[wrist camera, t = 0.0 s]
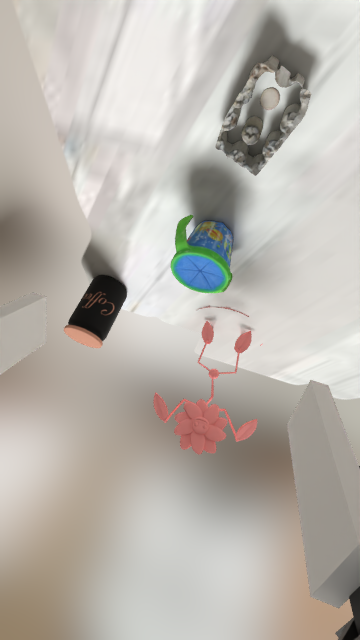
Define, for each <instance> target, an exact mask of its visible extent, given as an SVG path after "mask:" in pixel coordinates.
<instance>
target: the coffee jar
mask: <svg viewBox="0 0 360 640" xmlns="http://www.w3.org/2000/svg"><path fill="white" fill-rule="evenodd" d="M126 297H127V292H126V289H125V287H124V286H123V285H122V284H121V283H120V282H119V281H118V280H116V279H114V278H112V277H109V276H105V275H101V276H98V277H96V278H94V279H93V281H92V282H91V284H90V286H89V287H88V289H87V291H86V293H85V294H84V296H83V298H82V299H81V301H80V302H79V304H78V306H77V308H76V309H75V311H74V313H73V314H72V316H71V317H70V319H69V322H68V324H69V325H67V326H65V328H64V332H65V333H66V334H67V335H68V336H69V337H70V338H72V339H74V340H75V341H77V342H79V343H81V344H83V345H86V346H89V347H92V348H100V347H101V346H102V344H103V343H102V341H103V340H104V339H105V338H106V337H107V335H108V333H109V331H110V329H111V327H112V325H113V323H114V321H115V319H116V317H117V315H118V313H119V311H120V309H121V307H122V305H123V303H124V301H125V299H126Z"/></svg>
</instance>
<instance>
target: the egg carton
mask: <svg viewBox="0 0 360 640" xmlns="http://www.w3.org/2000/svg"><path fill="white" fill-rule="evenodd" d="M278 65H279V60H278V59H277V58H275V57H274V56H271V57H270V58H269V59H268V60H267V61H266V62H263V63H257V64H256V65H255V66H254V67H253V69H252V71H251V72H250V74H249V75H250V76H249V80H248V81H247V83H246V85H245V87H244V88H243V90H242V91H241V92H240V93H239V95H238V97H237V98H236V100H235V102H234V104H233V105H232V107H231V108H230V110H229V112H228V113H227V115H226V117H225V119H224V122H223V125H222V128H221V131H220V134H219V137H218V140H217V144H216V148H217V149H218V150H222V151H223V152H225V153H226V156H227V157H230V158H232V159H233V160H234V161H235V162H237V163H238V164H239V165H240V166H242V167H244V168H247V169H248V170H249V171H250V172H251V173H252V174H254V175H255V176H256V175H257V174H258V173H259V172H260V171H261V169H262V168H263V167H264V166H265V165H266V163H267V162H268V160H269V159H270V158H271V157H272V156H273V154H274V153H275V152H277V150H278V149H279V148H280V146H281V145H282V144H283V142H284V141H285V140H286V139H287V138H288V136H289V135H290V134H291V132H292V131H293V130H294V129H295V128H296V126H297V125H298V124H299V123H300V121H301V120H302V119H303V117H304V115H305V113H306V111H307V107H308V103H309V99H310V96H311V93H310V91H309V90H306V89H303V84H304V81H305V79H304V78H303V77H302V76H301V75H300V74H298V73H297V75H296V76H295V77H293V78H292V79H290V75H291V73H290V72H289V71H288V70H287V69H286V68H285V67H283V66H282V65H281V67H280V69H278ZM264 72H271V73H274V72H275V80H276V82H277V84H278V85H279V86H280V87H289V86H291V85H292V84H294V83H296V82H297V83H299V84H300V85H301V87H302V88H301V92H300V95H299V96H300V100H301V104H297V103H294V104H291V105H289V106H288V107H287V108H286V109H285V111H284V114H283V117H282V120H281V123H280V129H281V131H282V132H280V131H273V132H271V133H270V134H269V135H268V137H267V140H266V143H265V145H264V147H263V151H262V153H263V154H258V155H256V156H255V157H252V156H251V155H249V153H248V145H253V144H255V143H257V141H258V140H259V138H260V135H261V132H262V128H263V123H262V120H261V119H260V118H259V117H256V116H253V117H251V118H249V119H248V120H247V121H246V123H245V126H244V128H243V130H242V133H241V134H242V139H243V140H244V141H237V142H235V143H234V144H233V145H232V144H231V143H229V142H227V138H228V134H227V132H226V131H230V130H231V129H233V128H234V127H236V125H237V121H238V119H239V116H240V108H241V107H242V105H243V104H246V103H247V102H248V101H249V98H251V97H252V92H253V90H254V88H255V83H256V81H257V80H258V78H259V77H260V76H261V75H262V74H263V73H264ZM279 99H280V95H279V92H278V90H277V89H275V88H267V89H266V90H264V92H263V93H262V95H261V98H260V103H261V106H262V107H263V108H264V109H266V110H271V109H273V108H275V107H276V106H277V105H278V103H279Z"/></svg>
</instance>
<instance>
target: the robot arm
mask: <svg viewBox="0 0 360 640" xmlns="http://www.w3.org/2000/svg"><path fill="white" fill-rule="evenodd" d="M45 343H46V296H44V295H40V294H37V293H34V292H32V293H30V294H27V295H25V296H23V297H20V298H18V299H16V300H14V301H11V302H9V303H7V304H4V305H2V306H0V375H1V374H2V373H3V372H5V371H6V370H8V369H9V368H11V367H12V366H13V365H15V364H16V363H18V362H19V361H20V360H22V359H23V358H25V357H26V356H28V355H29V354H31V353H32V352H33V351H35V350H36V349H38V348H39V347H40V346H42V345H43V344H45ZM287 427H288V434H289V441H290V449H291V456H292V464H293V471H294V478H295V485H296V493H297V500H298V508H299V515H300V523H301V530H302V537H303V544H304V552H305V559H306V567H307V574H308V582H309V589H310V596H311V597H313V598H315V599H317V600H320V601H322V602H325V603H327V604H330V605H332V606H334V607H337V608H340V607H341V606H342V605H343V604H344V603H345V602H346V601H347V600H348V599H350V603H351V607H352V612H353V616H354V617H353V618H352V619H351V620H350V621H349V622H348V623H346V625H344V626H343V627H342V628H341V629H340V630H338V631H337V632H336V635H337V636H338V637H339V639H338V640H360V466H359V465H358V463H357V460H356V457H355V455H354V452H353V450H352V447H351V444H350V441H349V439H348V436H347V434H346V431H345V429H344V426H343V423H342V420H341V418H340V415H339V412H338V410H337V407H336V405H335V402H334V399H333V397H332V394H331V391H330V389H329V386H328V385H325V384H322V383H319V382H316V381H313V380H310V382H309V384H308V386H307V388H306V390H305V392H304V394H303V395H302V398H301V399H300V401H299V403H298V405H297V407H296V409H295V411H294V413H293V415H292V416H291V418H290V420H289V422H288V424H287Z"/></svg>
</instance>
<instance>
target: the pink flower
mask: <svg viewBox="0 0 360 640" xmlns="http://www.w3.org/2000/svg"><path fill="white" fill-rule="evenodd" d="M204 308H208V307H204ZM218 308H222V307H218ZM200 309H202V308H200ZM225 309H228V308H227V307H226V308H225ZM230 310H232V309H230ZM234 311H235V310H234ZM237 312H238V311H237ZM239 313H241V312H239ZM242 314H243V313H242ZM244 315H245V314H244ZM246 316H247V315H246ZM248 317H249V316H248ZM213 336H214V332H213V329H212V327H211V325H210V324H209V322H208V321H206V323H205V325H204V327H203V330H202V338H203V340H204V342H205V346H206V344H210V343H211V342H212V340H213ZM250 343H251V331H249V332H246V333H244V334H242V335H241V336H240V337H239V338H238V339H237V341H236V343H235V348H234V349H235V351H236V352H237V353H238V356H237V363H236V369H235V372H224V373H223V372H222V373H219V372H218V370H216V369H211V370H209V369H208V368H207V367H205V366H204V365H202V364H201V363H200V362H199V361H200V359H201V356H202V354H203V351H204V349H205V346H204V348H203V350H202V353H201V355H200V358H199V360H198V363H199V364H201V365H202V366H203V367H204V368H206V369H207V370H209V376H210V378H212V390H211V391H212V392H211V397H210V399H209V400H208V401H207V403H206V402H205V401H204V400H202V399H200V400H198V401H197V403H196V404H195V403H193V402H190V401H188V400H186V399H184V400H182V401H181V402H180V403H179V404H178V405H177V407H176V408H175V409H174V410H173V411H172V412H171V413H170V414H169V416H168V410H167V406H166V404H165V402H164V400H163V399H162V398H161V397H160V396H159V395H158V394H157V393H155V396H154V408H155V411H156V413H157V415H158V416H159V418H160V419H161V420H163V421H164V422H165V423H166V422H167V420H168V419H169V418H170V417H171V415H172V414H173V413H174V412H175V411H176V410H177V409H178V407H179V406H180V405H181V404H182V403H183V402H184V401H185V402H186V403H185V404H184V409H185V411H186V412H180V413H178V414H176V415H175V420H176V421H177V422H178V423H179V424H178V425H177V426H176V428H175V431H174V433H175V434H176V435H181V440H180V446H181V448H182V449H183V450H185V449H188V448H189V447H190V446H192V449H193V450H194V451H195V452H196V453H197V454H202V451H203V450H205V451H206V452H208V453H215V452H216V444H215V441H221V440H223V439H225V438H226V434H225V433H224V432H223V431H222V430H223V429H224V428H225V426H226V425H227V420H226V419H224V418H220V417H219V411H225V410H226V409H219V407H218V405H216V404H213V405H211V406H210V407H208V406H207V405H208V403H209V402H210V401H211V400H212V398H213V395H214V394H213V393H214V392H213V390H214V389H213V379H216V378H217V377H218V376H219V374H230V373H236V371H237V365H238V359H239V353H242V352H244V351H245V350H247V348H248V347H249V346H250ZM261 345H262V344H261ZM261 345H260V346H261ZM225 414H226V416H227V419H228V421H229V423H230V426H231V428H232V430H233V433H234V435H235V437H236V441H237V442H238V441H240V440H244V439H246V438H248V437H250V436H251V435H252V434H253V432H254V431H255V429H256V426H257V419H255V420H252V421H249V422H247V423H245V424H244V425H242V426H241V427H240V428H239V429H238V431H237V434H236V432H235V430H234V428H233V425H232V423H231V420H230V418H229V416H228V413H227V411H225Z"/></svg>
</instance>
